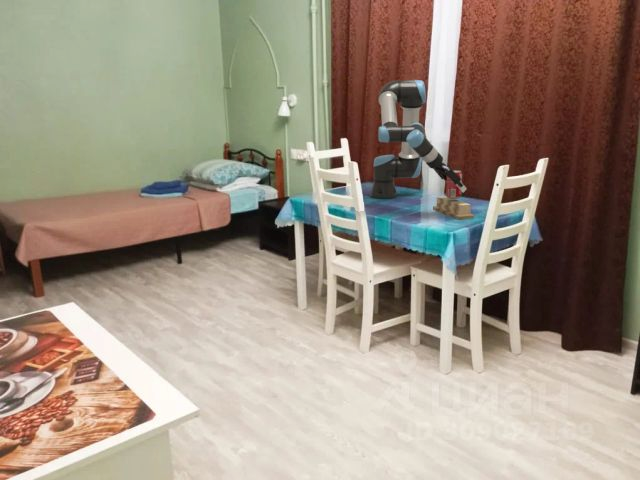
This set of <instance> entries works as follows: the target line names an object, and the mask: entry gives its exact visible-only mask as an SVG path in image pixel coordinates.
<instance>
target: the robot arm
mask: <svg viewBox="0 0 640 480" xmlns="http://www.w3.org/2000/svg"><path fill="white" fill-rule="evenodd" d="M426 102H427V95H426V84H425V82H424V81H423V80H419V79H404V80H392V81H389V82H388V83H386V84H385V85H384V86H383V87H382V88H381V89H380V91H379V93H378V104H379V105H380V113H381V114H380V115H381V126H379V127H378V133H377V134H378V135H377V136H378V141H379V143H387V144H388V143H401V151H400V152H399V153H398V157H396V156H395V155H394V154H385V155H379V156H377V157H375V158H374V160H373V183H372V187H371V190H370V191H369V192H370V197H371V198H375V199H394V198H397V195H398V192H397V189H396V186H395V179H413V178H414V179H415V178H418V177H419V176H420V174H421V171H422V164H423V162H424V163H425V164H426V165H427V166H428V168H430V169H433V170H434V171H435V173H436V174H437V176H439V178H440V179H441V180H443V181H445V182H446V183H447V176H448V177H449V178H450V179H451V180H452V181H453V182H454V183H455V184H454V185H456V186H457V187H458V188H459V189H460V190H461V194H462V193H463V194H464V193H465V191H467V189H468V188H467V187H466V185H464V183H463V181H462V182H461V181H460V180H461V178H459V176H458V175H457V174H456V173H455V172H454V171H453V169H452V168H451V166H450V165H446V164H445V162H443V161H444V157H443V156H442V155H441V154H440V152H439V151H438V149H436V148H435V146H434V145H433V144H432V143H431V142H430V141H429V140H428V138H427V134H426V129H425V127H424V125H423V124H421V123H419V122H420V110H421V108H423V104H425V103H426ZM396 104H400V108H402V110H403V111H402V125H400V126H399V125H398V115H397V106H396Z"/></svg>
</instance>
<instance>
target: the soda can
mask: <svg viewBox="0 0 640 480" xmlns="http://www.w3.org/2000/svg"><path fill="white" fill-rule="evenodd" d="M452 170H453V169H452ZM453 171H454V172H455V173H456V174H457V175H458V176H459V178H461V180H460V181H461V182H462V183H463V173H462V170H453ZM454 184H455V183H454V182H453V181H452V180H451V179H450V178H449V177H448V176H447V182H446V187H445V191H446V192H445V196H446V197H447V198H449V199H455V200H458V199H460V198H461V197H462V192H461V190H460V189H459V188H458V187H457V186H456V185H454Z"/></svg>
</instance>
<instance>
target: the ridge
mask: <svg viewBox="0 0 640 480" xmlns="http://www.w3.org/2000/svg"><path fill="white" fill-rule="evenodd" d="M471 206H472V204H470V203H467V202H464V201H461V200H458V199H449V198H447V197H446V195H445V196H436V206H432V210H433V211H436V212H437V213H441V214H443V215H446V216H448V217H451V218H453V219H456V220H460V221H461V220H469V219H470V220H471V219H475V215H474V214H473V213H471V208H472V207H471Z"/></svg>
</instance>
